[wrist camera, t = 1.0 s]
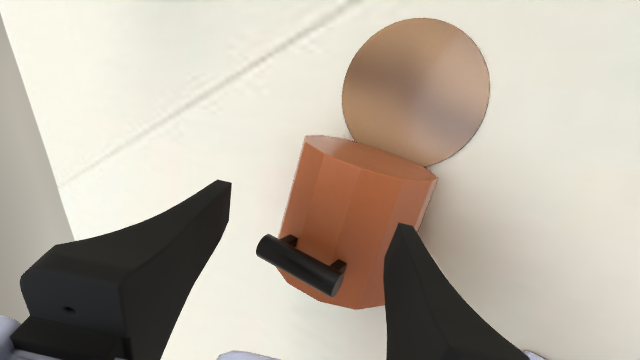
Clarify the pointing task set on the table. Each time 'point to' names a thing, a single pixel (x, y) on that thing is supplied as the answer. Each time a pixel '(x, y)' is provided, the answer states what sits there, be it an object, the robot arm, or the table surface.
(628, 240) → the table surface
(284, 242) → the pot
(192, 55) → the table surface
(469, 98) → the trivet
